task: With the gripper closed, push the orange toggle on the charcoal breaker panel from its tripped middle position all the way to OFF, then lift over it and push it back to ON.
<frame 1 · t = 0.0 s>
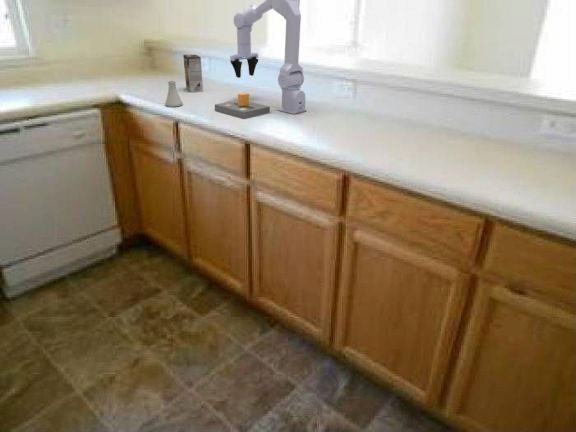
hand: (245, 76, 198), 10 cm above the worktop, fingers open, 7 cm apart
coffee box: (194, 90, 219), on the worktop
flask: (174, 105, 191), on the worktop
breaker panel: (242, 111, 182), on the worktop
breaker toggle: (243, 99, 180), point 5 cm above the worktop, slide at 4.0 cm
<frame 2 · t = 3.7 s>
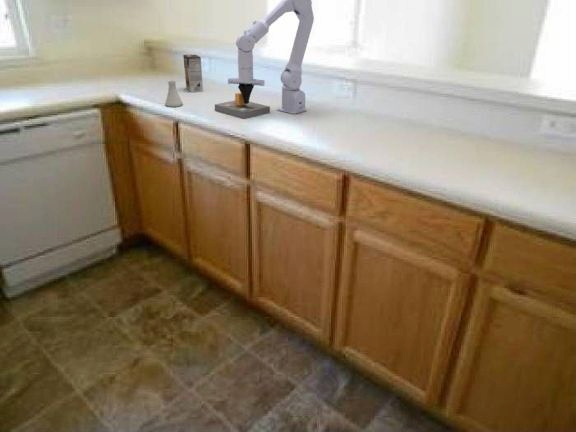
hand: (246, 103, 179), 4 cm above the worktop, fingers closed
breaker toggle: (240, 98, 181), point 5 cm above the worktop, slide at 5.6 cm, touching gripper
everything else where it was.
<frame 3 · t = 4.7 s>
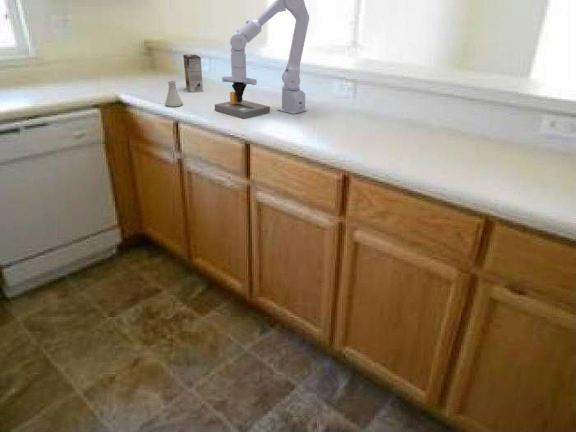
hand: (239, 101, 181), 4 cm above the worktop, fingers closed
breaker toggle: (235, 97, 182), point 5 cm above the worktop, slide at 8.7 cm, touching gripper
everything else where it was.
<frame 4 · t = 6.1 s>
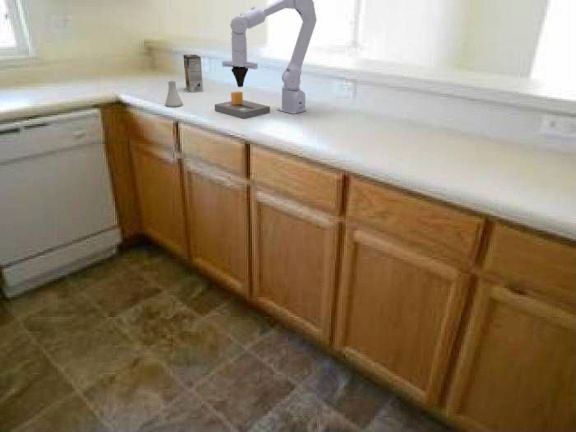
hand: (240, 86, 178), 10 cm above the worktop, fingers closed
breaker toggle: (236, 97, 182), point 5 cm above the worktop, slide at 8.1 cm
everything else where it was.
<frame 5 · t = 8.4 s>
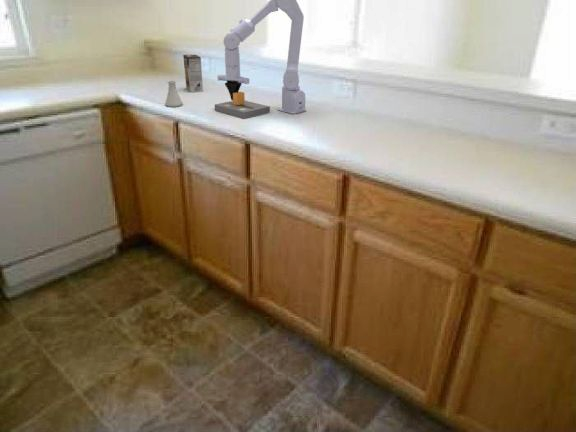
hand: (234, 100, 184), 4 cm above the worktop, fingers closed
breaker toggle: (238, 98, 181), point 5 cm above the worktop, slide at 6.9 cm, touching gripper
everything else where it was.
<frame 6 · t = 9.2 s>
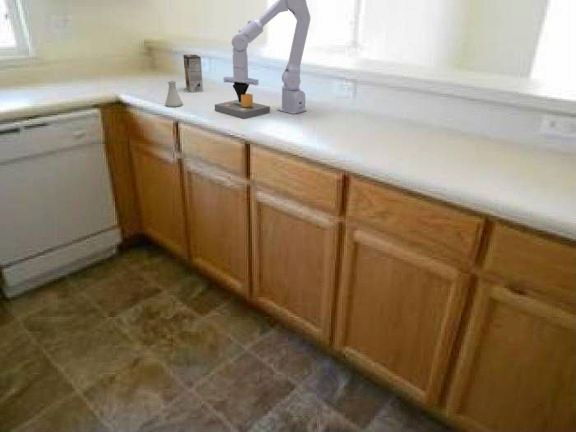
hand: (241, 101, 181), 4 cm above the worktop, fingers closed
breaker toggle: (246, 100, 178), point 5 cm above the worktop, slide at 2.0 cm, touching gripper
everything else where it was.
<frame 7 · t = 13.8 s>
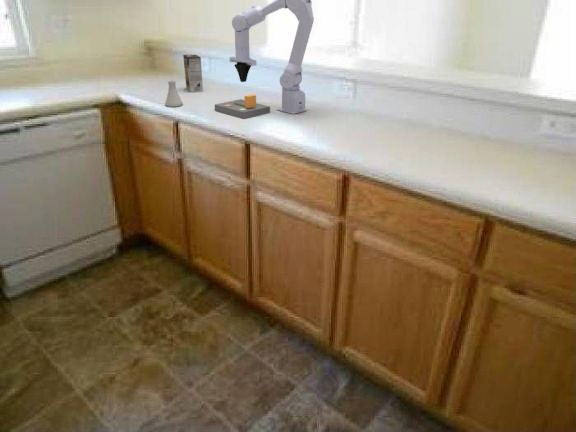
hand: (243, 81, 188), 10 cm above the worktop, fingers closed
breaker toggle: (250, 101, 177), point 5 cm above the worktop, slide at -0.1 cm
everything else where it was.
at the end: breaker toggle slide at -0.1 cm; flask moved 0.3 cm from its start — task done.
